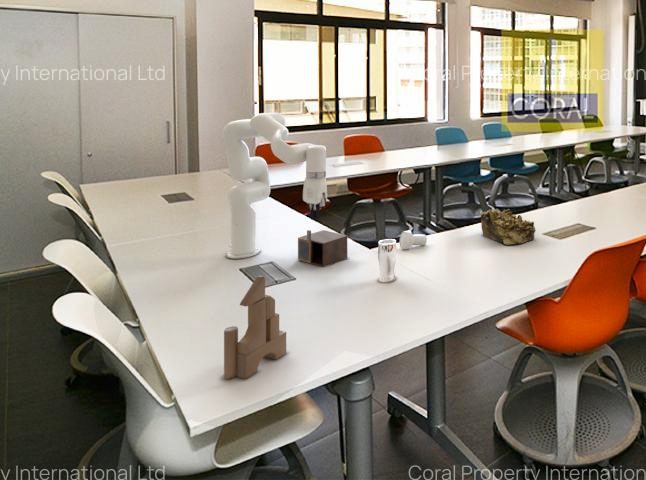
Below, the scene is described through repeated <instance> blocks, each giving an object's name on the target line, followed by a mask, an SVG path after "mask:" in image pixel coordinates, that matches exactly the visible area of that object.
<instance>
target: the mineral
mask: <svg viewBox="0 0 646 480" xmlns="http://www.w3.org/2000/svg"><path fill="white" fill-rule="evenodd" d="M480 222H481V223H480V225H481V231H482V236H484V237H486V238H489V239H491V240H493V241H495V242H499V243H500V244H503V245H507V246H508V245H509V246H510V245H516V244H523V243H527V242H529V241H532V240H535V232H536V227H535V221H530V220H527V219H523V216H521V214H517V215H516V214H515V213H514V214H513V211H511V209H510V208H508V209H503V210H502V211H501V210H500V209H499V208H496V209H493V210H492V209H488V210H487V211H481V214H480Z"/></svg>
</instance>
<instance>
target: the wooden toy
mask: <svg viewBox="0 0 646 480" xmlns="http://www.w3.org/2000/svg"><path fill="white" fill-rule="evenodd" d="M239 306H242V307H247V329H246V331H245V334H244V335H243V336H242V337H241V339H240V340H239V328H238V326H233V325H232V326H228V327H226V328H225V329H224V331H223V377H224V379H226V380H230V379H233V378H235V377H238V378H241V379H245V380H247V379H248V378H250V377H252V376H253V375H255V374H256V373H258V369H259V366H260V363H261V361H262V360H263V358H268V359H272V360H278V359H280V358H281V357H284V355H286V354H287V331H286V330H285V331H284V330H280V313H277V312H276V299H275V298H274V297H272V296H271V295H267V294H266V277H265V276H263V275H257V276H256V277H255V279H254V280H253V282H252V284H251V285H250V287H249V288H248V290H247V292H246V293H245V295H244V297H243V298H242V300H240V303H239Z"/></svg>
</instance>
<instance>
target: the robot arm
mask: <svg viewBox="0 0 646 480" xmlns="http://www.w3.org/2000/svg"><path fill="white" fill-rule="evenodd" d="M285 117H286V116H285V115H283V114H282V113H280V112H276V111H275V112H261V113H257V114H254V115H253V116H252V117H251V118H248V119H238V120H233V121H230V122H228V123H227V124H225V125H224V127H223V129H222V134H221V137H222V141H223V145H224V147H225V150H226V158H227V165H228V172H229V173H228V174H229V177H230V179H231V180H233V181H235V182H239V181H245V180H251V181H247V182H242V183H238V184H236V185H234V186H232V187H231V188H230V189H229V191H228V193H227V200H228V202H229V208H230V244H228V247H229V248H230V250H229V251H228V252H227V253H226V258H228V259H237V260H238V259H245V258H246V259H247V258H250V257H254V256H256V255H258V254H259V253H260V252H261V250H260V248H259V247H257V246H256V245H257V243H256V238H257V237H256V235H257V234H256V233H257V231H256V230H257V229H256V228H257V225H256V224H257V223H256V220H257V219H256V211H255V209H254V207H253V206H252V204H254V203H257V202H261V201H264V200H266V199H268V198H269V196H270V194H271V181H270V180H271V179H270V172H269V167H268V163H267V162H266V160H265V159H264V158H263V157H261V156H250V149H249V147H248V144H246V142H245V141H244V140H245V139H246V140H247V139H253V138H261V137H263V139H265V140H266V141H268V142H269V143H270V149H271V152H272V154H273V155H274V156H275V157H276V158H277V159H279V160H280V161H282V162H283V163H285V164H289V165H291V164H292V165H293V164H297V163H298V164H299V163H303V162H305V178H304V182H303V188H302V201H303V202H305V203H306V204H307V205H309V210H310V220H312V221H315V220H318V219H320V218H321V209H322V207H326V202H327V200H328V185H327V184H328V183H327V179H326V178H327V148H326V146H325V145H322V144H314V143H310V142H304V143H298V144H288V143H287V142H285V141H286V140H287V138H288V137H289V129H288V128H287V127H286V124H287V120H286V118H285Z"/></svg>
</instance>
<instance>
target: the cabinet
mask: <svg viewBox="0 0 646 480" xmlns="http://www.w3.org/2000/svg"><path fill="white" fill-rule="evenodd" d="M299 237H300V238H304V239H307V234H306V235H302V236H299ZM347 259H348V235H347V234H342V233H337V232H333V231H329V230H324V229H322V230H318V231H316V232H311V263H310V264H312V265H315V266H319V267H323V268H325V267H328V266H330V265H333V264H335V263H339V262H341V261H344V260H347Z"/></svg>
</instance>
